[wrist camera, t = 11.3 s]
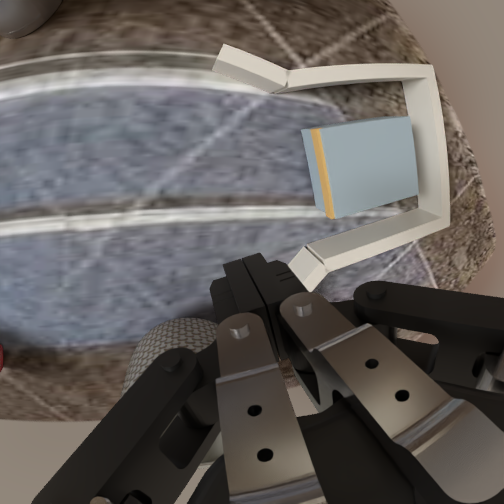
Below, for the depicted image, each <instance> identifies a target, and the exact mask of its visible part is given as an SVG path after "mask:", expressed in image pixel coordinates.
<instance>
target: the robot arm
mask: <svg viewBox="0 0 504 504" xmlns="http://www.w3.org/2000/svg"><path fill="white" fill-rule="evenodd" d="M61 1H62V0H0V35H1V36H3V37H6V38H10V39H11V38H19V37H22V36H25V35H27V34H29V33H31V32H33V31H34V30H36V29H37V28H39V27H40V26H41V25H42V24H44V23H45V22H46V21H47V20H48V19H49V18H50V17H51V16H52V15H53V13H54V12H55V11H56V9H57V8H58V7H59V5H60V3H61ZM223 268H224V271H225V274H226V277H223V278H220V279H216V280H213V282H212V284H211V287H210V293H211V297H212V301H213V306H214V310H215V314H216V318H217V322H218V327H217V330H216V339H215V340H214V342H213V343H212V344H210V345H209V346H208V347H206V348H205V349H203V350H201V351H200V352H198V353H196V354H195V353H194V352H193V351H192V350H190V349H188V348H183V347H178V348H173V349H170V350H167V351H165V352H163V353H162V354H160V355H159V356H158V357H157V358H156V359H155V360H154V361H153V362H152V363H151V364H150V365H149V366H148V368H147V369H146V370H145V371H144V372H143V373H142V374H141V376H140V377H139V378H138V379H137V380H136V381H135V383H134V384H133V385H132V386H131V387H130V388H129V389H128V391H127V392H126V393H125V394H124V395H123V396H122V397H121V399H120V400H119V401H118V402H117V403H116V404H115V406H114V407H113V408H112V409H111V410H110V411H109V412H108V414H107V415H106V416H105V417H104V418H103V419H102V421H101V422H100V423H99V424H98V425H97V426H96V428H95V429H94V430H93V431H92V432H91V433H90V434H89V436H88V437H87V438H86V439H85V440H84V441H83V443H82V444H81V445H80V446H79V447H78V448H77V450H76V451H75V452H74V453H73V454H72V455H71V456H70V458H69V459H68V460H67V461H66V462H65V463H64V464H63V466H62V467H61V468H60V469H59V470H58V471H57V473H56V474H55V475H54V476H53V477H52V478H51V480H50V481H49V482H48V483H47V484H46V485H45V486H44V488H43V489H42V490H41V491H40V493H38V495H37V496H36V497H35V498H34V500H33V501H32V503H31V504H174V503H175V501H176V500H177V498H178V497H179V495H180V494H181V492H182V491H183V489H184V488H185V486H186V485H187V483H188V482H189V480H190V479H191V477H192V476H193V474H194V473H195V471H196V470H197V468H198V467H199V465H200V463H201V462H202V460H203V459H204V457H205V456H206V454H207V452H208V451H209V449H210V448H211V446H212V444H213V443H214V441H215V440H216V438H217V436H218V435H219V433H220V431H221V435H222V443H223V451H224V454H222V455H221V456H220V457H219V458H218V459H217V460H216V461H215V462H214V463H213V464H212V465H211V466H210V467H209V469H208V470H207V471H206V472H205V474H204V476H203V477H202V479H201V481H200V482H199V484H198V486H197V487H196V489H195V491H194V492H193V494H192V496H191V498H190V499H189V501H188V502H187V504H504V298H500V297H493V296H485V295H478V294H471V293H463V292H456V291H449V290H442V289H435V288H428V287H421V286H414V285H407V284H400V283H393V282H386V281H370V282H367V283H364V284H362V285H360V286H359V287H357V288H356V290H355V291H354V294H353V297H354V300H348V301H342V302H328V301H327V300H326V299H325V298H324V297H323V296H322V295H320V294H318V293H313V292H309V291H308V290H307V289H306V287H305V286H304V285H303V284H302V282H301V281H300V280H299V279H298V277H297V276H296V275H295V274H294V273H293V271H292V270H291V269H290V268H289V266H288V265H287V264H286V263H283V262H281V261H278V260H275V261H272V262H269V263H267V262H266V260H265V259H264V257H263V256H262V254H261V253H257V254H254V255H250V256H247V257H244V258H242V260H241V259H238V260H235V261H232V262H229V263H225V264H223ZM397 328H401V329H407V330H412V331H417V332H423V333H428V334H432V335H434V336H435V337H436V338H437V339H438V341H439V343H438V344H427V343H421V342H416V341H411V340H406V339H401V338H397ZM277 353H278V354H277ZM278 355H279V357H280V359H281V361H282V360H284V359H287V358H289V359H290V361H291V363H292V367H293V371H294V375H295V377H296V378H297V380H298V381H299V383H300V385H301V386H302V388H303V389H304V391H305V392H306V394H307V395H308V397H309V399H310V400H311V402H312V403H313V405H314V406H315V408H316V409H317V411H318V412H319V413H317V414H312V415H307V416H301V417H296V415H295V413H294V410H293V407H292V404H291V401H290V398H289V395H288V392H287V389H286V386H285V383H284V380H283V377H282V374H281V371H280V368H279V365H278V363H277V362H279V358H278ZM176 414H177V416H176ZM175 416H176V417H175ZM174 417H175V418H174ZM173 419H174V420H173ZM172 420H173V421H172ZM171 421H172V423H171ZM170 423H171V424H170ZM169 424H170V425H169ZM168 425H169V427H168ZM167 427H168V428H167ZM166 428H167V429H166ZM165 429H166V431H165ZM164 431H165V432H164ZM163 432H164V434H163V435H162V433H163ZM161 435H162V436H161ZM160 437H161V438H160Z"/></svg>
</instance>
